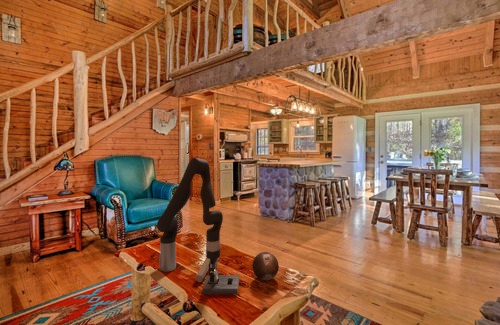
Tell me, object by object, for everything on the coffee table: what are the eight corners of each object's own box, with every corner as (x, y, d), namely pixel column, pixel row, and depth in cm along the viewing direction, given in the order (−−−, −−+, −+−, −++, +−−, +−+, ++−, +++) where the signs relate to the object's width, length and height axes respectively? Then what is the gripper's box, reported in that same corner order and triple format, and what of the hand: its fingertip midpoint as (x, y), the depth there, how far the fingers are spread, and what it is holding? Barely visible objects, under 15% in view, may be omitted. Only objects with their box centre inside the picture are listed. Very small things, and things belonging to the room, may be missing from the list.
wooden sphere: (259, 288, 134) (259, 260, 134) (248, 275, 148) (248, 250, 147) (283, 282, 140) (283, 255, 140) (270, 270, 154) (270, 246, 153)
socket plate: (202, 294, 129) (202, 288, 128) (207, 280, 143) (207, 274, 142) (237, 294, 128) (237, 288, 128) (239, 280, 142) (239, 275, 142)
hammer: (201, 267, 137) (218, 237, 166) (193, 266, 138) (211, 236, 166) (204, 291, 141) (220, 257, 170) (196, 290, 142) (213, 257, 171)
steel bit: (209, 288, 134) (209, 274, 133) (210, 284, 138) (210, 270, 137) (216, 288, 134) (216, 274, 133) (217, 284, 138) (217, 270, 137)
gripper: (208, 243, 142) (208, 271, 142) (203, 253, 128) (203, 284, 128) (221, 243, 142) (222, 271, 142) (218, 253, 127) (218, 284, 128)
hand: (213, 277), depth 135 cm, fingers open, 8 cm apart
